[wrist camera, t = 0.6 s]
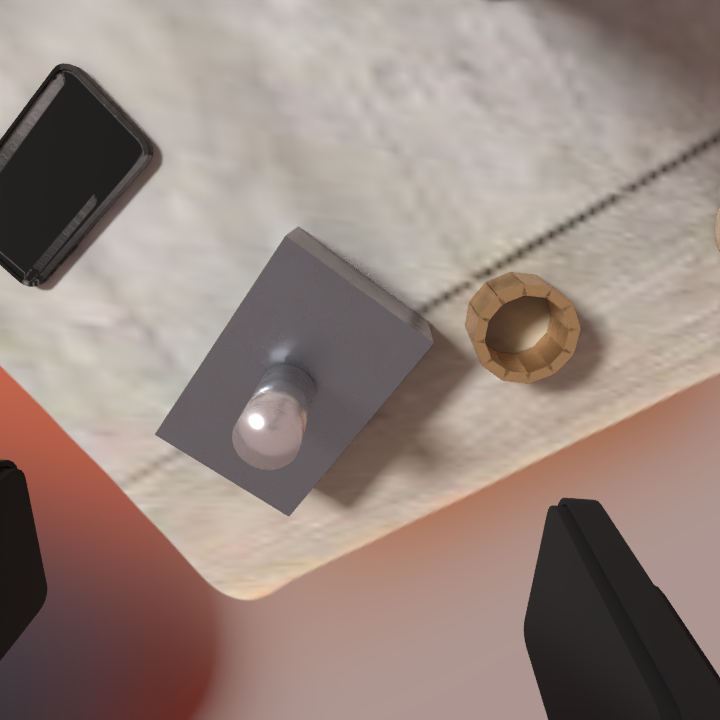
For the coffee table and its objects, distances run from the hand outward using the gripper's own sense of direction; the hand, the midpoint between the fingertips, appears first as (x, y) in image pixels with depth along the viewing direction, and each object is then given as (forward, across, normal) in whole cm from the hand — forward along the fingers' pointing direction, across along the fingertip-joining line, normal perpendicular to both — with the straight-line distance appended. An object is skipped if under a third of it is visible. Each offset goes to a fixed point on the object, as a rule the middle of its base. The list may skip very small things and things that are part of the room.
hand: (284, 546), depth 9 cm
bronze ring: (+31, -12, +4) cm, 33 cm away
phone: (+31, +22, -4) cm, 39 cm away
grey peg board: (+31, +4, +8) cm, 32 cm away
